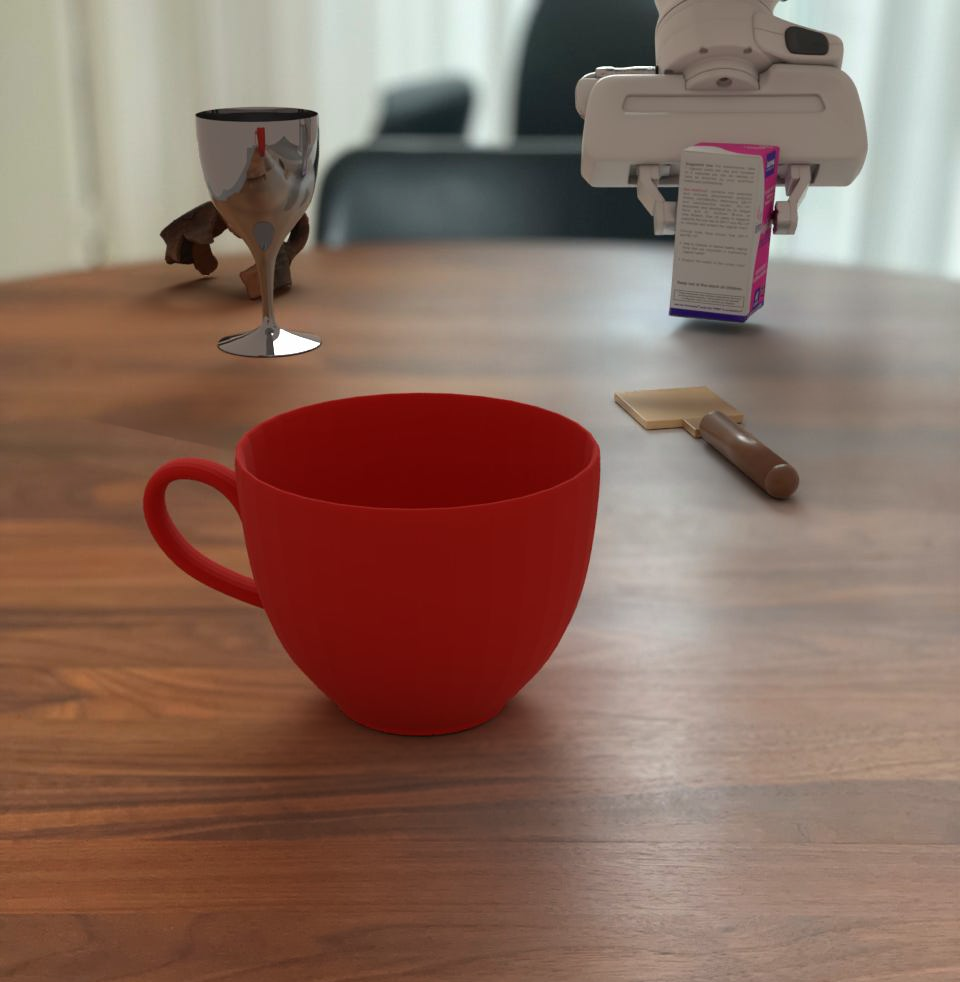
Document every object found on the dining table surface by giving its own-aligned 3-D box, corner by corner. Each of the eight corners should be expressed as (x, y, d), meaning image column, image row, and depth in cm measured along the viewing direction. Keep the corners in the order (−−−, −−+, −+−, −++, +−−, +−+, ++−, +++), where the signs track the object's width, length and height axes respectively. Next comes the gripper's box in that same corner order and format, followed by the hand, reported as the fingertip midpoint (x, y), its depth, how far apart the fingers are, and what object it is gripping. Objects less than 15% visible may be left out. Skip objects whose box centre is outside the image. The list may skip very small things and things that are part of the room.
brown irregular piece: (227, 314, 112) (171, 213, 111) (186, 343, 121) (133, 250, 119) (351, 252, 118) (299, 155, 116) (303, 284, 126) (254, 194, 124)
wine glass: (279, 364, 99) (266, 125, 92) (187, 347, 102) (168, 116, 96) (350, 338, 105) (343, 112, 98) (261, 322, 108) (248, 103, 102)
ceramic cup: (216, 604, 65) (198, 378, 60) (607, 634, 62) (617, 401, 58) (97, 754, 53) (63, 488, 49) (570, 799, 51) (580, 523, 46)
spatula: (613, 400, 92) (614, 371, 91) (705, 393, 93) (707, 365, 92) (731, 508, 75) (734, 474, 75) (841, 498, 77) (845, 465, 76)
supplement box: (748, 325, 105) (761, 154, 100) (666, 317, 107) (675, 149, 102) (768, 306, 110) (781, 143, 104) (689, 299, 112) (699, 138, 107)
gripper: (577, 38, 107) (580, 203, 102) (864, 37, 106) (881, 203, 102) (572, 97, 113) (575, 256, 108) (845, 96, 112) (859, 255, 108)
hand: (726, 230), depth 105 cm, fingers closed on supplement box, 7 cm apart
